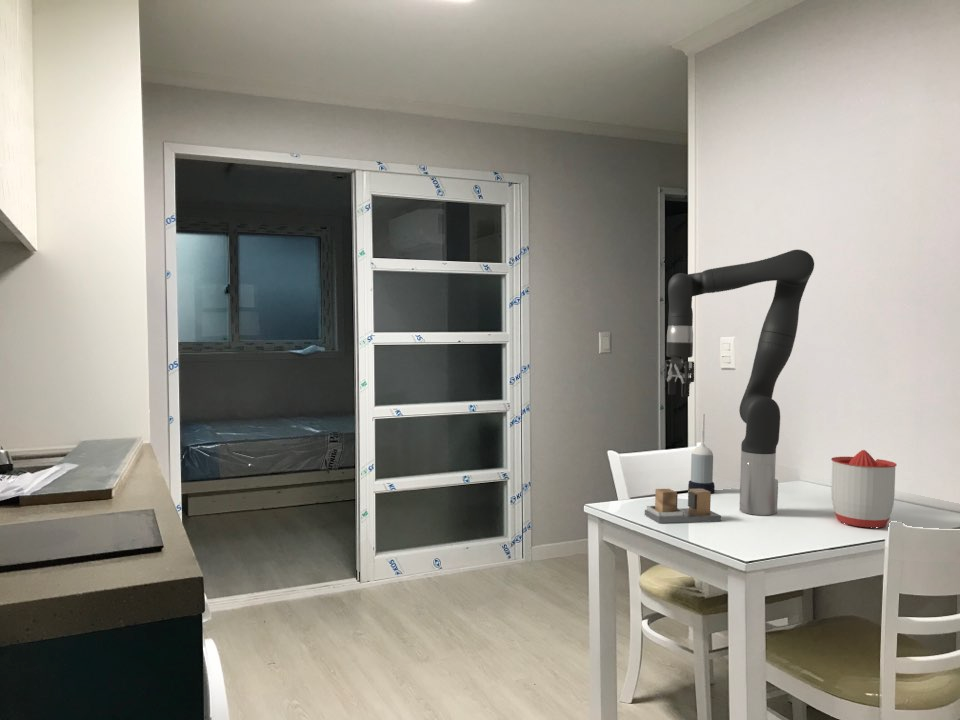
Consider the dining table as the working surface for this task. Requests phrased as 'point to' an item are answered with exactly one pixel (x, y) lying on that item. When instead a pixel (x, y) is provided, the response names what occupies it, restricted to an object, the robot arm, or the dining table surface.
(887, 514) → the citrus juicer
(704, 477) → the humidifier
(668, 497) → the tan wooden block
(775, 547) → the dining table surface
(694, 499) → the rail dock
